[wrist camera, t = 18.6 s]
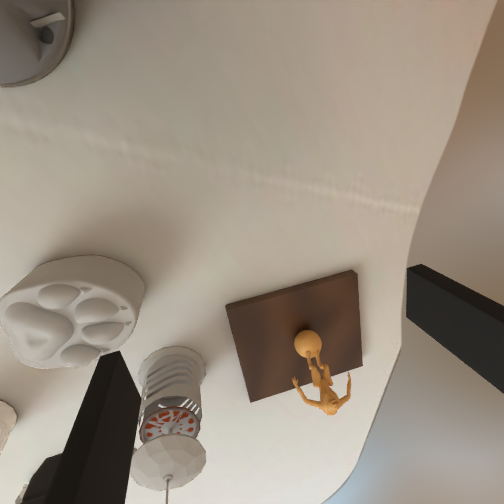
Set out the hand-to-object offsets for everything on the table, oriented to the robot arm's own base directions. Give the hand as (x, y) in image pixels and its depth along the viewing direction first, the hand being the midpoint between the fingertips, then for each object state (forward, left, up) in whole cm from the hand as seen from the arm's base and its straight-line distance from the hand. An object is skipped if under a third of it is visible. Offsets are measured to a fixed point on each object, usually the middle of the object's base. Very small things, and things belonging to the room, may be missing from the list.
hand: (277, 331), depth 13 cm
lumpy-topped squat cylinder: (-18, -7, -27) cm, 33 cm away
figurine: (+8, -23, -25) cm, 35 cm away
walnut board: (+8, -23, -27) cm, 36 cm away
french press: (-13, -23, -27) cm, 38 cm away
